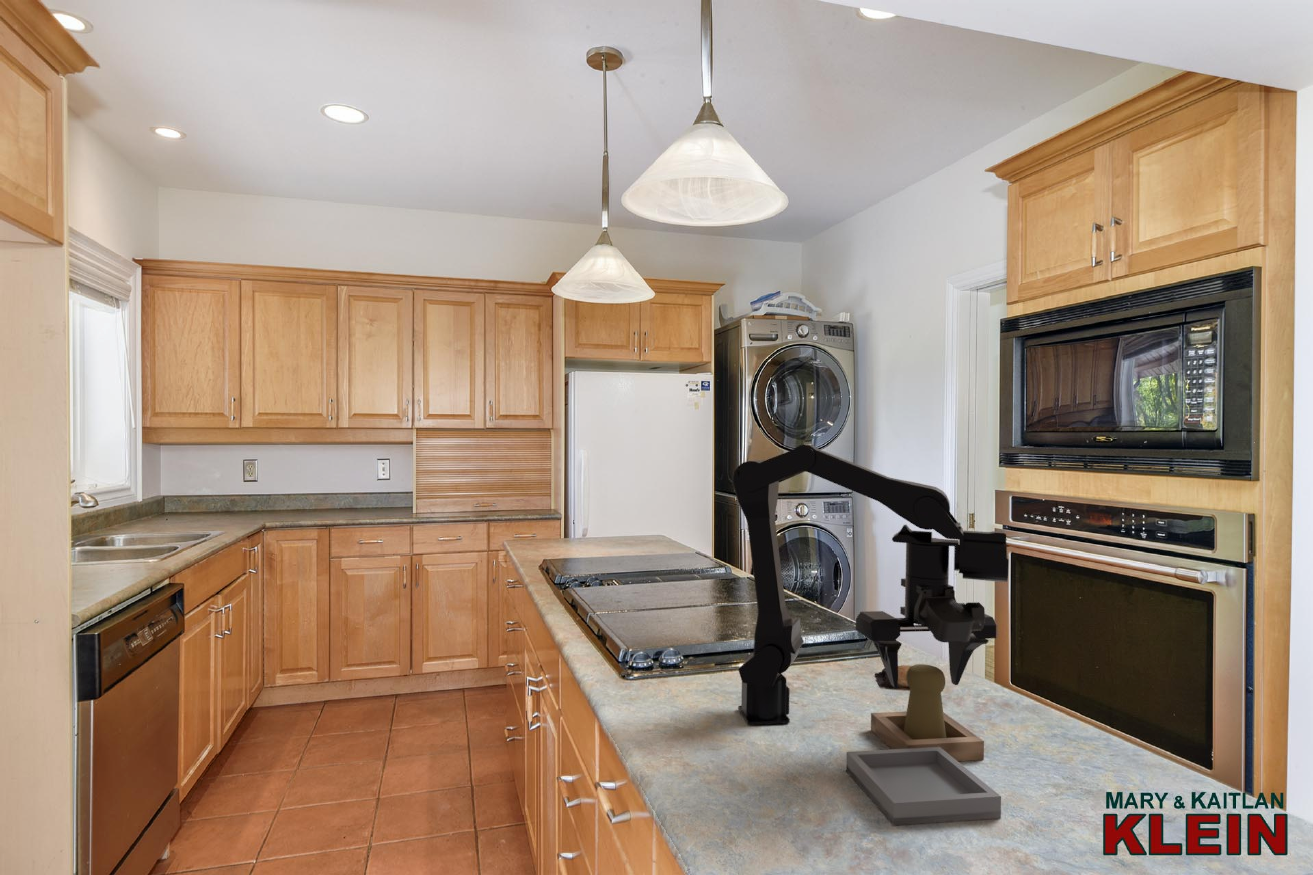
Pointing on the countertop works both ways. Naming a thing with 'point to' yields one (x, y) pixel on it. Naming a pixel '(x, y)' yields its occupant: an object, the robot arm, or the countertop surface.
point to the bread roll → (902, 682)
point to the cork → (925, 703)
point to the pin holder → (955, 744)
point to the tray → (922, 786)
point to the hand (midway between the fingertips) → (924, 685)
